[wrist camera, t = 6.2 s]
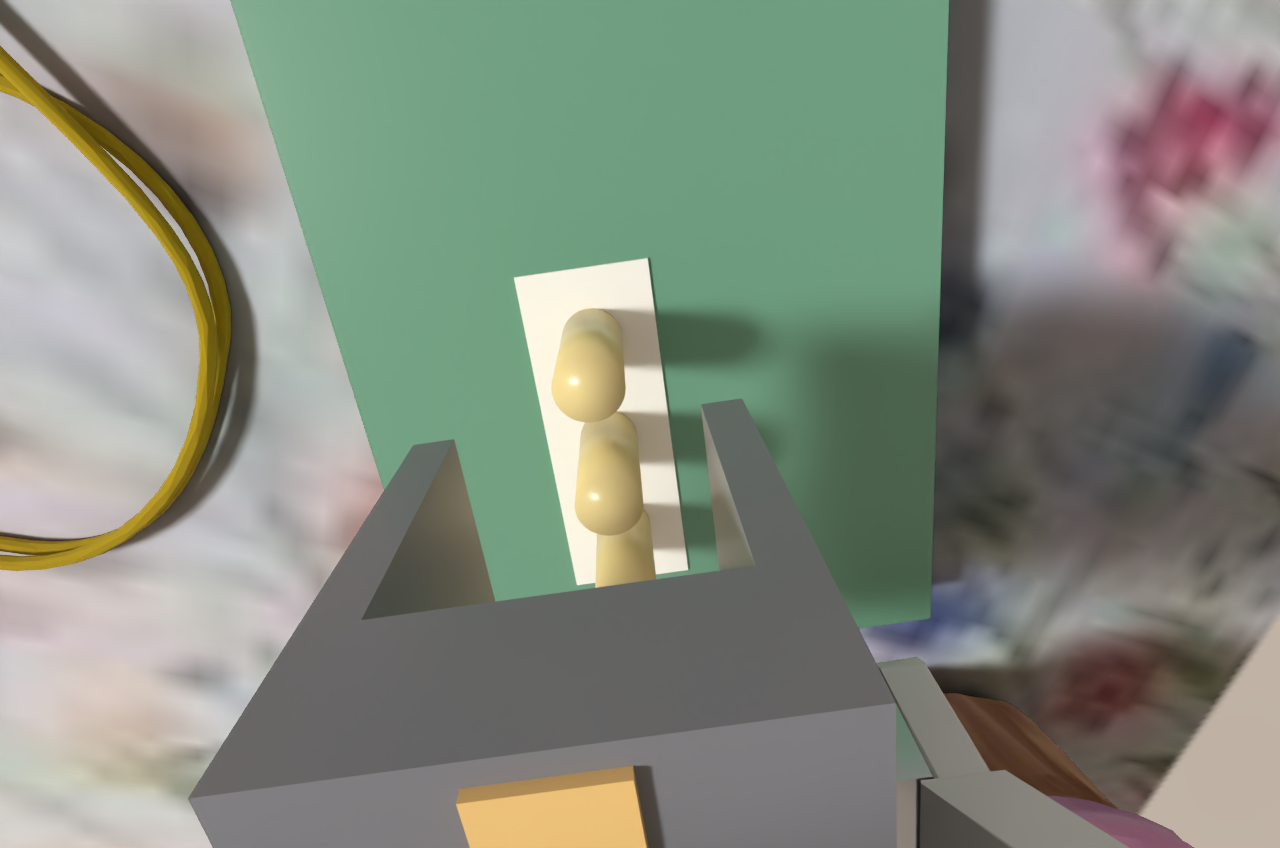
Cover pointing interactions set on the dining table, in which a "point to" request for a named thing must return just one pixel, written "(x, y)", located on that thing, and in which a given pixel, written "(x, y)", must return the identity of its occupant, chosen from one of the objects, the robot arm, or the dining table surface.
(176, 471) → the extension cord
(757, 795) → the box
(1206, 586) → the dining table surface
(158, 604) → the dining table surface
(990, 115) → the dining table surface
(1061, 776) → the cupcake
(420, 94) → the header board
